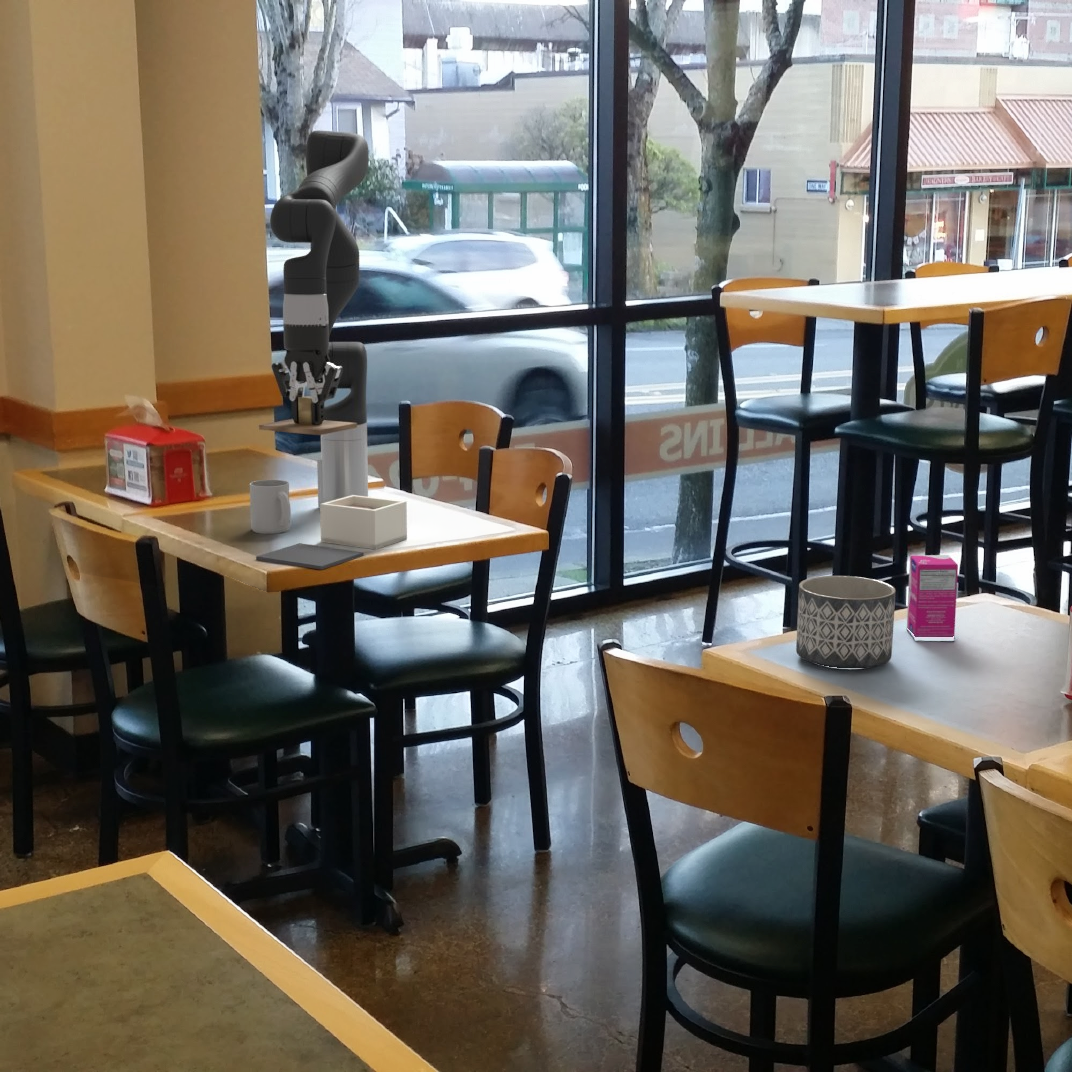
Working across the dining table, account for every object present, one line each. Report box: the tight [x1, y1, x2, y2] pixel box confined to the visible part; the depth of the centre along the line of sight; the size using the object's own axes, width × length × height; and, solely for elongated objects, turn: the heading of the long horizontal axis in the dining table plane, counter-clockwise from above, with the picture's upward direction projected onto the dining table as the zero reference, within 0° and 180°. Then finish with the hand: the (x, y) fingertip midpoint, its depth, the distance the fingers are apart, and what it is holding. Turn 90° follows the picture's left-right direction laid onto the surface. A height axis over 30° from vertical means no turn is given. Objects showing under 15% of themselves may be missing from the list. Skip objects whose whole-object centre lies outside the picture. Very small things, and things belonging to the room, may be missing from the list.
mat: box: [255, 542, 365, 570], centre depth 261 cm, size 14×12×1 cm
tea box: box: [319, 495, 408, 550], centre depth 274 cm, size 12×10×7 cm
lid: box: [258, 395, 357, 436], centre depth 256 cm, size 13×11×5 cm
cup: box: [249, 479, 292, 535], centre depth 281 cm, size 7×10×9 cm
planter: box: [795, 575, 896, 669], centre depth 203 cm, size 13×13×10 cm
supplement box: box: [906, 554, 959, 637], centre depth 215 cm, size 6×6×12 cm
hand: (308, 423), depth 256 cm, fingers closed on lid, 3 cm apart
